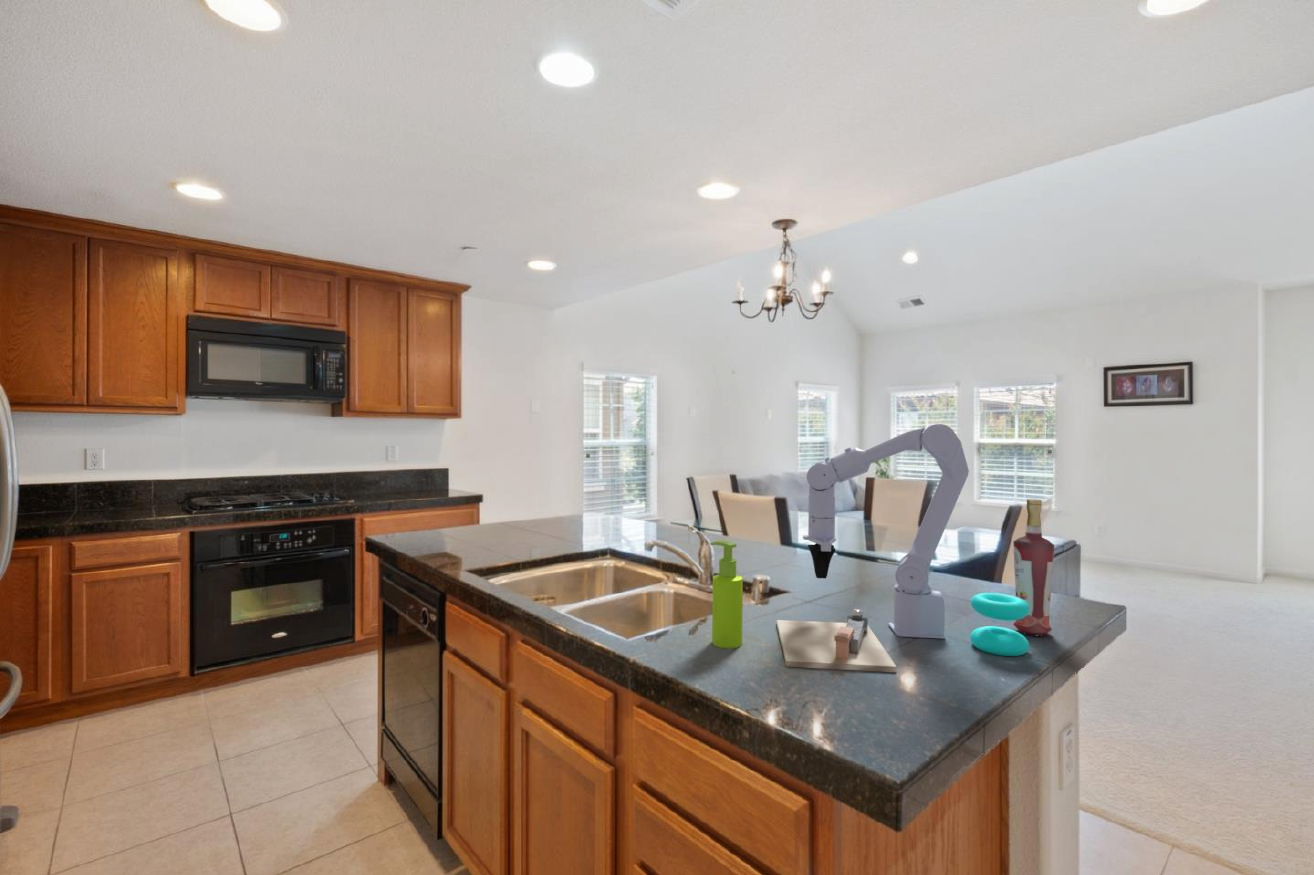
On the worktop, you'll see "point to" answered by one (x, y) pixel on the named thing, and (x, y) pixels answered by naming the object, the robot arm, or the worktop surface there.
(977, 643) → the donuts
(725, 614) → the soap dispenser
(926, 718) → the worktop surface
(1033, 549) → the liquor
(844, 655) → the block
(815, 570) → the robot arm
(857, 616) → the link
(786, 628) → the hinge board
